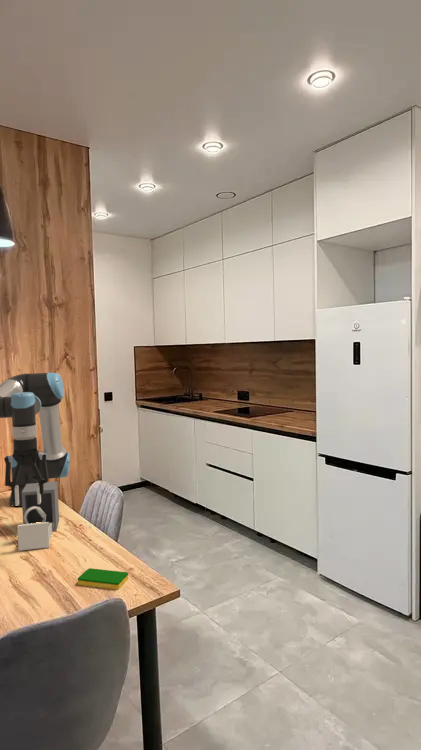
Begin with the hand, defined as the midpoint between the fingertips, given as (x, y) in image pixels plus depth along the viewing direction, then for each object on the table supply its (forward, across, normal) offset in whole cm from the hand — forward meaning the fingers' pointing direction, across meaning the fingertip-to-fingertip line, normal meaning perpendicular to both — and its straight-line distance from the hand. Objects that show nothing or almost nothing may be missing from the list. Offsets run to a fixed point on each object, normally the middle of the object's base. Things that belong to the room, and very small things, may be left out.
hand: (28, 504), depth 163 cm
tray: (+19, 0, +15) cm, 24 cm away
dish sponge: (+20, +24, -24) cm, 40 cm away
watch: (+18, -1, +16) cm, 24 cm away
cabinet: (+19, 0, +29) cm, 35 cm away
